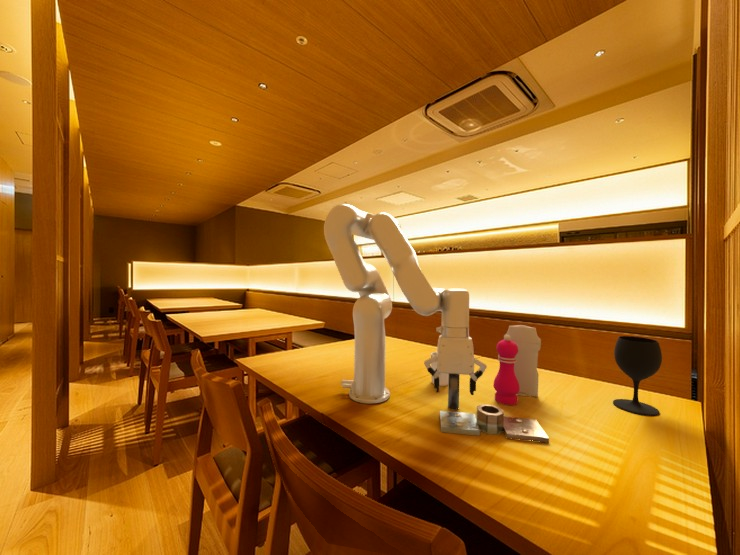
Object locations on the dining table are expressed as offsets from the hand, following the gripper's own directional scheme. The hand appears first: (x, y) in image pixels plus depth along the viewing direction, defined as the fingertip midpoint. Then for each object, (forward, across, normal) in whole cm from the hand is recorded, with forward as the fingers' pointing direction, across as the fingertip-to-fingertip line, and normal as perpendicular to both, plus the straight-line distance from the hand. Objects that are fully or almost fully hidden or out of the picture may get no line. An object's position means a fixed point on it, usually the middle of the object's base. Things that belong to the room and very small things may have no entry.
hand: (454, 392), depth 89 cm
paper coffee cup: (+5, -3, +19) cm, 20 cm away
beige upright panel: (+5, +22, +15) cm, 27 cm away
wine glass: (+5, +52, +11) cm, 53 cm away
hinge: (+5, +8, -10) cm, 13 cm away
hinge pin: (+5, 0, 0) cm, 5 cm away
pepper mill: (+5, +16, +8) cm, 18 cm away
